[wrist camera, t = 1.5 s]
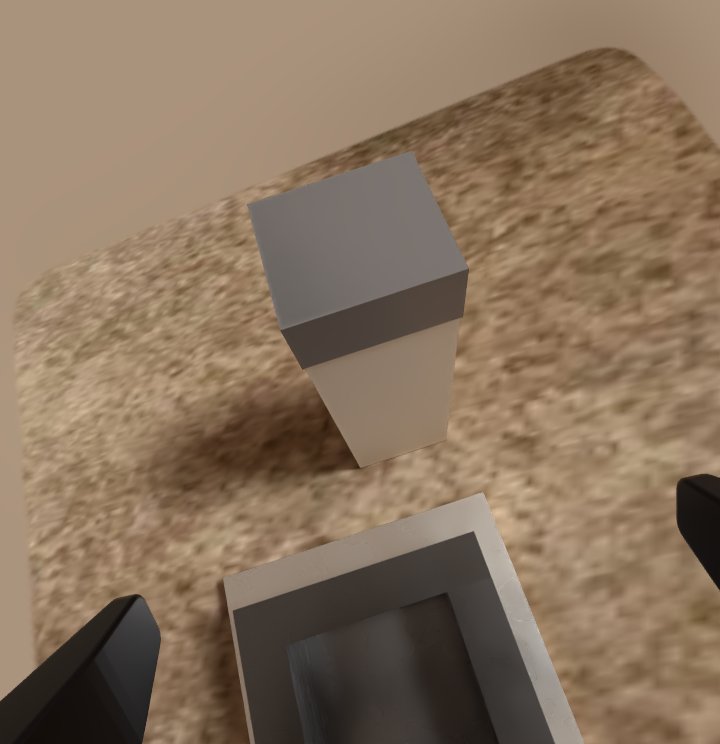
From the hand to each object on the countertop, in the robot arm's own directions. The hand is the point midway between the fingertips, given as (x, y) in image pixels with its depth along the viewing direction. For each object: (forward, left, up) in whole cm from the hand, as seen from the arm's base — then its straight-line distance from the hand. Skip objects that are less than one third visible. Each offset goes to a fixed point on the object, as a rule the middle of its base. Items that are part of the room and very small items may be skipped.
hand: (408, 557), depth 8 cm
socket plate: (-3, +2, -13) cm, 14 cm away
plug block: (+7, -1, -13) cm, 15 cm away
